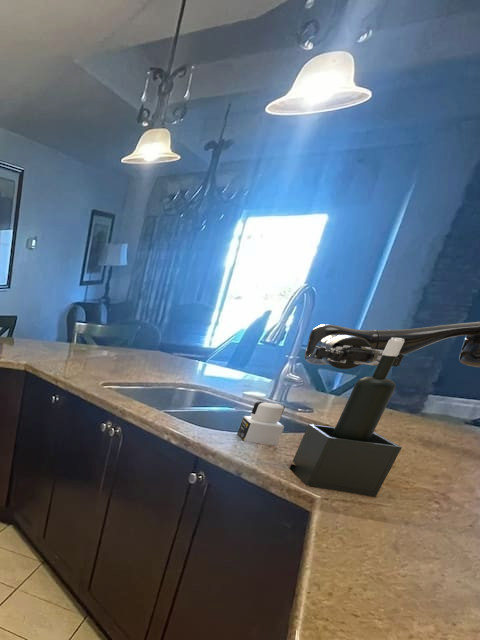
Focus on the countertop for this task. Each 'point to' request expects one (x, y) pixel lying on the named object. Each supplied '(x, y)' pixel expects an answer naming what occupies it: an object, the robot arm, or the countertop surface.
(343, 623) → the countertop surface
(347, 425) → the wine bottle
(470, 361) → the robot arm
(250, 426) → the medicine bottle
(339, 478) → the bin
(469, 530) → the countertop surface
